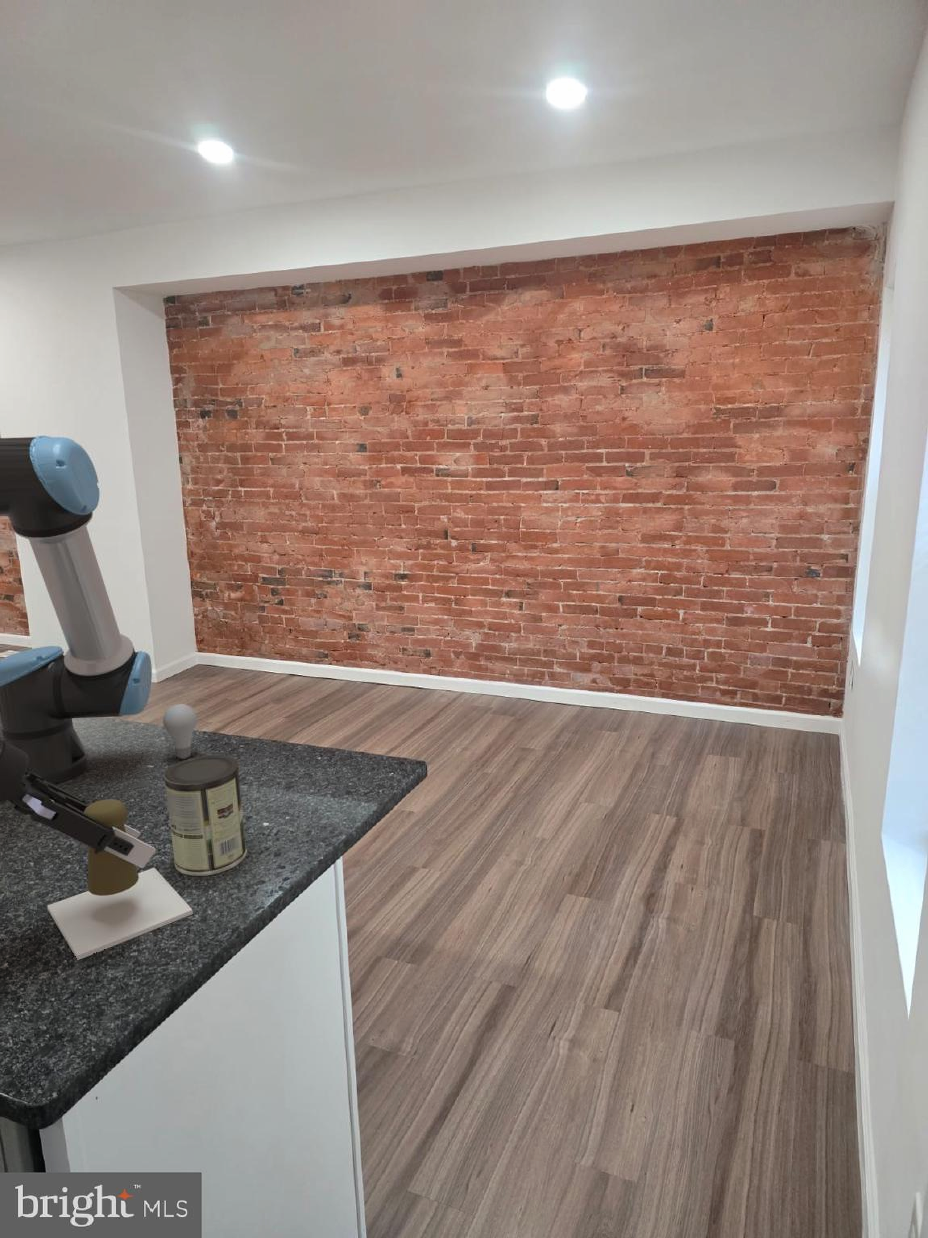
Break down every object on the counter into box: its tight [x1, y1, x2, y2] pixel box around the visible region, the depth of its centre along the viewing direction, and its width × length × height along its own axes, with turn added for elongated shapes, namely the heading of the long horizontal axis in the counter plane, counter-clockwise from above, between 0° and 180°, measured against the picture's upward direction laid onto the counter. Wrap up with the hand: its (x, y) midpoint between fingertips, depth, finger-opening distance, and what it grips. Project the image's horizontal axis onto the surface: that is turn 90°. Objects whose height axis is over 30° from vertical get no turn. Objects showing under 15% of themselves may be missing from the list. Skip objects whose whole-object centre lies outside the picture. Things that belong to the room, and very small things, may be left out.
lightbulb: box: [162, 703, 198, 760], centre depth 153 cm, size 6×6×11 cm
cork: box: [84, 798, 139, 896], centre depth 101 cm, size 6×6×11 cm
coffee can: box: [162, 754, 248, 877], centre depth 115 cm, size 10×10×14 cm
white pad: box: [47, 867, 194, 961], centre depth 104 cm, size 14×14×1 cm
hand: (140, 849), depth 104 cm, fingers closed on cork, 5 cm apart
